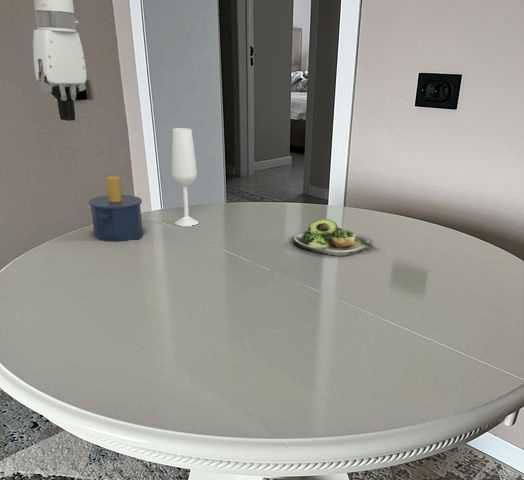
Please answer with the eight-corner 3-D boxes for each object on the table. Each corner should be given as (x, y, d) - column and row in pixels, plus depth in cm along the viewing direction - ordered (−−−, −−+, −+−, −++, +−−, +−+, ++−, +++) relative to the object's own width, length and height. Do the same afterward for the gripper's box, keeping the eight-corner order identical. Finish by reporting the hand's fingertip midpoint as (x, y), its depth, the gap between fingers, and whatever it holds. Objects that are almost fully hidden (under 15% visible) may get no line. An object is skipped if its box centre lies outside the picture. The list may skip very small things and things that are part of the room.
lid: (80, 210, 125) (76, 181, 122) (100, 198, 136) (96, 171, 133) (133, 212, 124) (130, 184, 121) (148, 200, 135) (146, 173, 132)
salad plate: (389, 246, 132) (391, 227, 130) (351, 264, 120) (353, 244, 117) (324, 230, 142) (325, 213, 140) (283, 245, 130) (284, 227, 128)
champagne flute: (172, 220, 148) (166, 127, 136) (195, 219, 150) (192, 127, 138) (177, 227, 142) (171, 131, 131) (201, 225, 144) (198, 130, 133)
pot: (83, 246, 127) (78, 210, 123) (108, 226, 142) (104, 193, 138) (131, 248, 126) (127, 212, 122) (150, 228, 141) (148, 195, 137)
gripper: (75, 26, 117) (84, 117, 125) (12, 20, 106) (27, 120, 115) (97, 26, 113) (105, 119, 122) (34, 20, 102) (48, 123, 111)
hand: (67, 119), depth 118 cm, fingers closed
